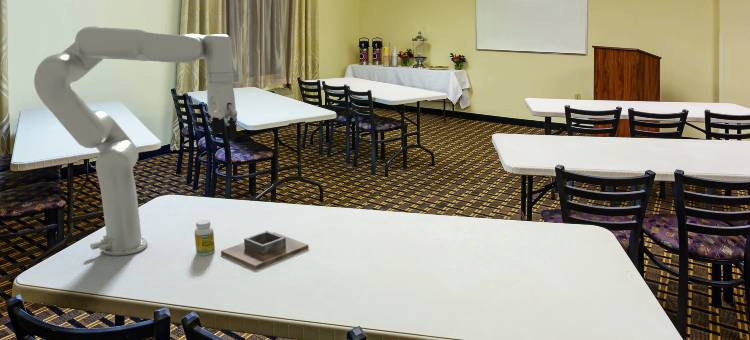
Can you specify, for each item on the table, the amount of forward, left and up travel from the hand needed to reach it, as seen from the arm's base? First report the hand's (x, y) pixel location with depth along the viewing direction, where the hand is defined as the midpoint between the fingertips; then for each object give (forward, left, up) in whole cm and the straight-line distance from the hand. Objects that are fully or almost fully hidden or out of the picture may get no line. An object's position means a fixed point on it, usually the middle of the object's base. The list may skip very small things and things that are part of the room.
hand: (224, 136), depth 176 cm
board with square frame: (+2, -15, -33) cm, 36 cm away
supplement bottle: (-10, -2, -34) cm, 35 cm away
